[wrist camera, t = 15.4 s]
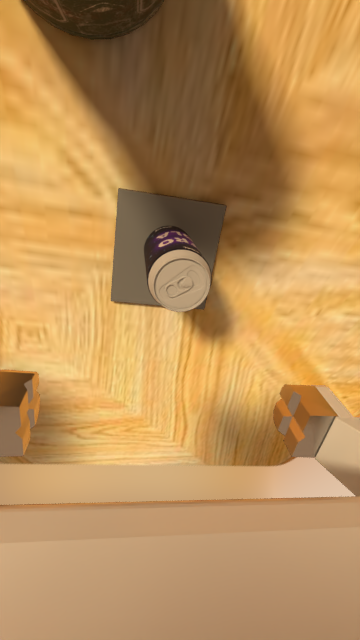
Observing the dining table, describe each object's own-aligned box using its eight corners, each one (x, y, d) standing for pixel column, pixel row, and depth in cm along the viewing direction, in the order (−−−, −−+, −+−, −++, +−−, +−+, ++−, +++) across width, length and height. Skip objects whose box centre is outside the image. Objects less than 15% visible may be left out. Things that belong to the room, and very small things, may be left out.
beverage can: (199, 258, 38) (225, 297, 27) (158, 280, 39) (167, 326, 28) (178, 214, 35) (198, 239, 25) (134, 238, 36) (135, 273, 25)
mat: (111, 298, 40) (110, 300, 39) (118, 188, 34) (118, 188, 33) (202, 307, 42) (204, 309, 41) (224, 204, 36) (226, 206, 36)
